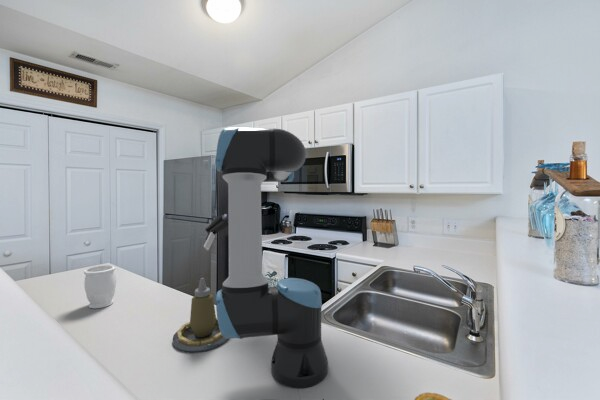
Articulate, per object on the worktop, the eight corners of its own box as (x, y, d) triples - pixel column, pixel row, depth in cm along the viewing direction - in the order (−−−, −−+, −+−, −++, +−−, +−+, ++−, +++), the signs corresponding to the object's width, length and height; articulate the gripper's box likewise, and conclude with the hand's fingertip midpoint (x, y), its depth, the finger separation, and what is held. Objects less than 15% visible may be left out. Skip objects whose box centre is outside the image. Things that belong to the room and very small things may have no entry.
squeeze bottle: (188, 341, 87) (187, 283, 86) (191, 328, 94) (189, 275, 93) (216, 337, 89) (215, 281, 88) (216, 325, 97) (215, 273, 95)
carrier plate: (243, 331, 94) (243, 324, 94) (198, 359, 79) (197, 351, 79) (206, 317, 104) (206, 311, 104) (160, 341, 89) (160, 333, 89)
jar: (122, 299, 120) (121, 265, 119) (103, 310, 110) (101, 272, 109) (99, 298, 121) (98, 264, 120) (78, 309, 111) (76, 272, 110)
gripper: (272, 212, 116) (256, 257, 102) (218, 210, 123) (197, 252, 109) (266, 199, 110) (249, 245, 97) (211, 199, 118) (188, 241, 104)
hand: (221, 249), depth 103 cm, fingers open, 13 cm apart
